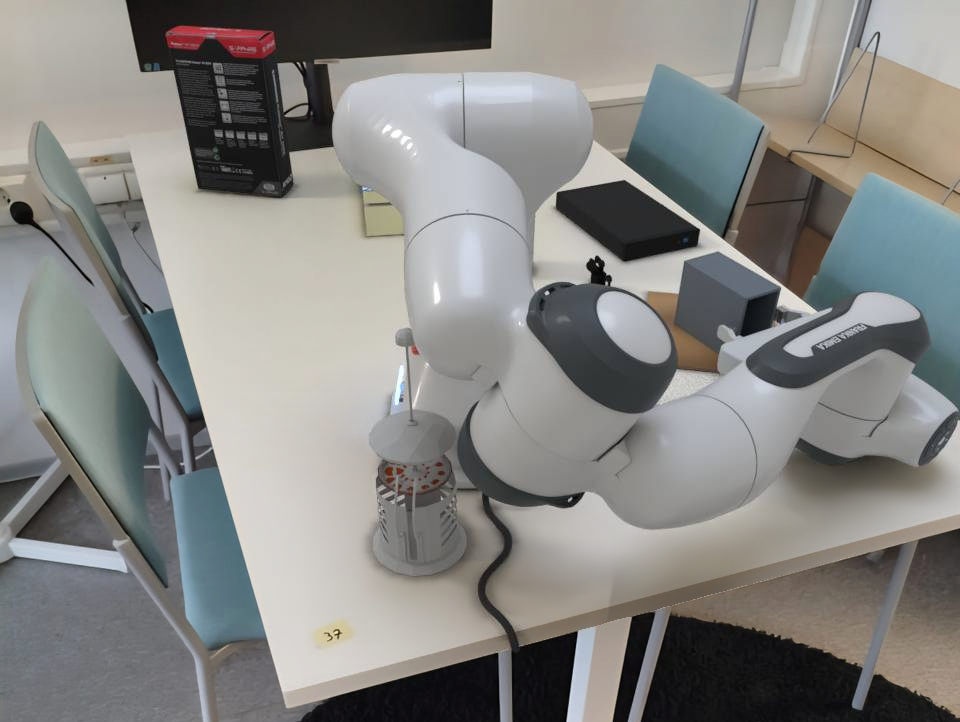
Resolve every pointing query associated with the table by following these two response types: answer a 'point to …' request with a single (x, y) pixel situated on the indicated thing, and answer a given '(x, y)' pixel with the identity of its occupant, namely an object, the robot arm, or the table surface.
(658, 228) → the external hard drive
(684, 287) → the grey basket
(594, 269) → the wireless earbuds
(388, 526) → the french press
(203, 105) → the graphics card box
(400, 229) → the cream box
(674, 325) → the cork pad
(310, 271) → the table surface
